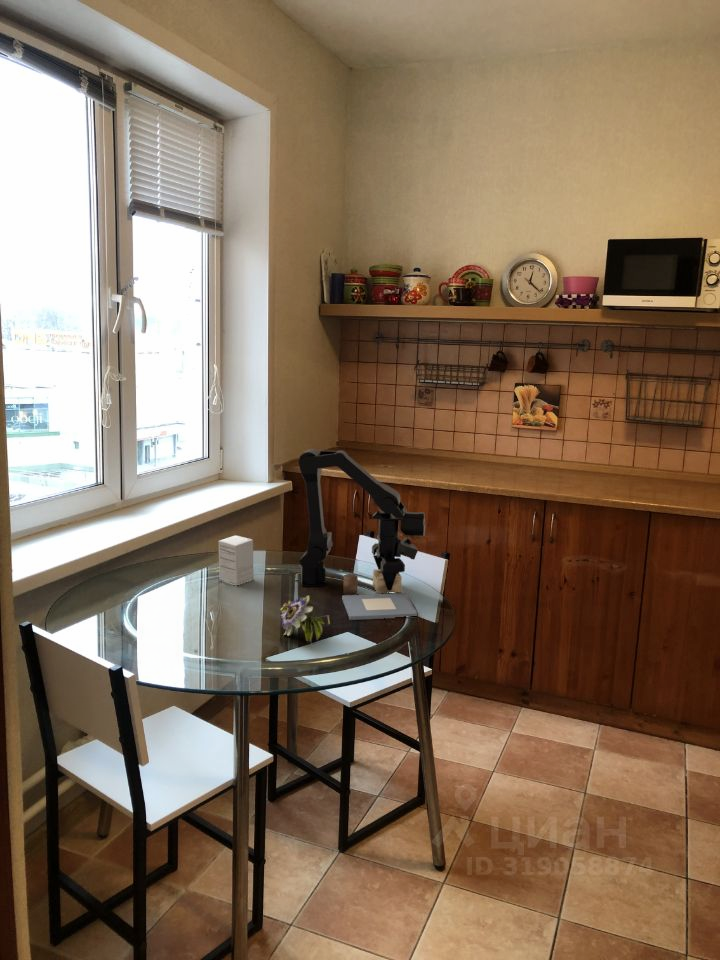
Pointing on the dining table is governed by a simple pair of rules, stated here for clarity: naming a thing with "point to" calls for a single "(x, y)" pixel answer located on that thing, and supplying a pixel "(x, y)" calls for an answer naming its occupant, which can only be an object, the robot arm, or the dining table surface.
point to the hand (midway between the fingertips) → (386, 585)
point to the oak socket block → (380, 583)
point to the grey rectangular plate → (378, 606)
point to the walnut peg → (350, 584)
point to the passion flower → (301, 618)
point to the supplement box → (236, 560)
